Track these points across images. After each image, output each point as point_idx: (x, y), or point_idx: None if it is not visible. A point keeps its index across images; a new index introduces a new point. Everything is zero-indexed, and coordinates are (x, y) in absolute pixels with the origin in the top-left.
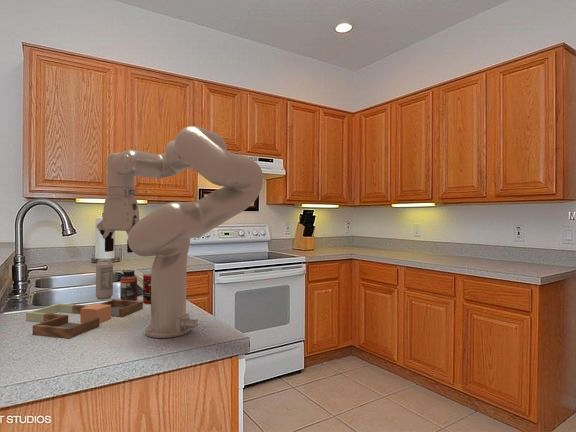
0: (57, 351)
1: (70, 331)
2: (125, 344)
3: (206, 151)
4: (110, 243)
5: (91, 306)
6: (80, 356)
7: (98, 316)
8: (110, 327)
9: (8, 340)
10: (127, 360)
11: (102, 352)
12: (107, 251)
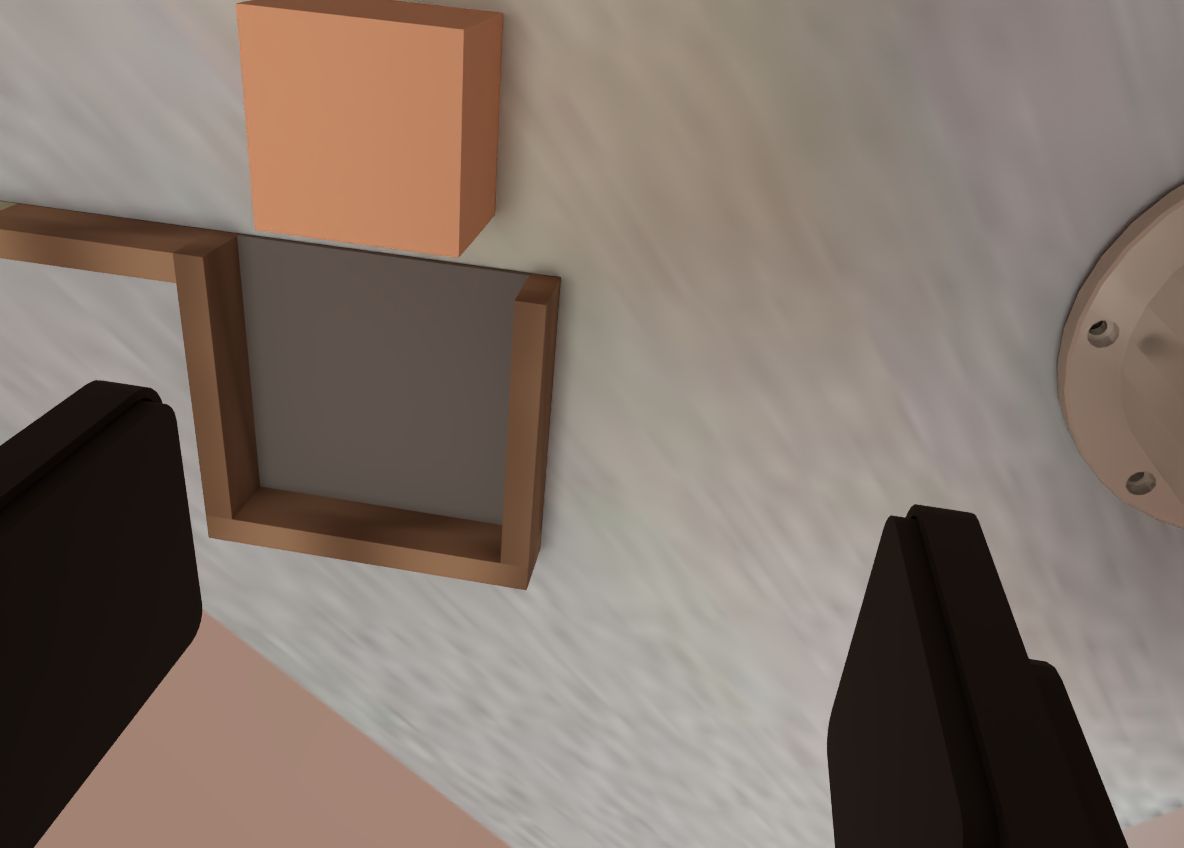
0: (632, 724)
1: (531, 571)
2: None
3: None
4: (49, 671)
5: (298, 137)
6: (810, 777)
7: (477, 217)
8: (675, 294)
9: (206, 594)
10: None
11: None
12: (188, 593)
